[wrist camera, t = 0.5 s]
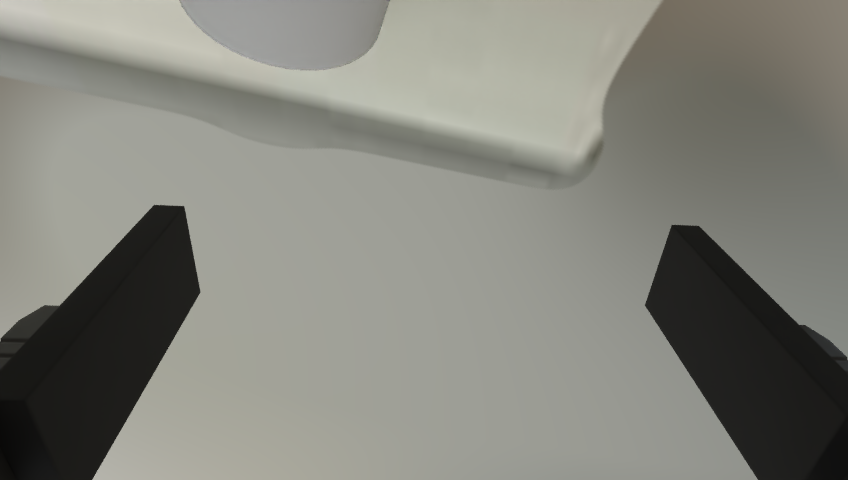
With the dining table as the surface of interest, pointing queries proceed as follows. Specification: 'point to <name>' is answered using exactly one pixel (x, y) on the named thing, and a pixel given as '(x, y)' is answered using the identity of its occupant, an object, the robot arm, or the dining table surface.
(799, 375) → the robot arm
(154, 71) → the dining table surface
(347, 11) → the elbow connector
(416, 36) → the dining table surface
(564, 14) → the dining table surface
